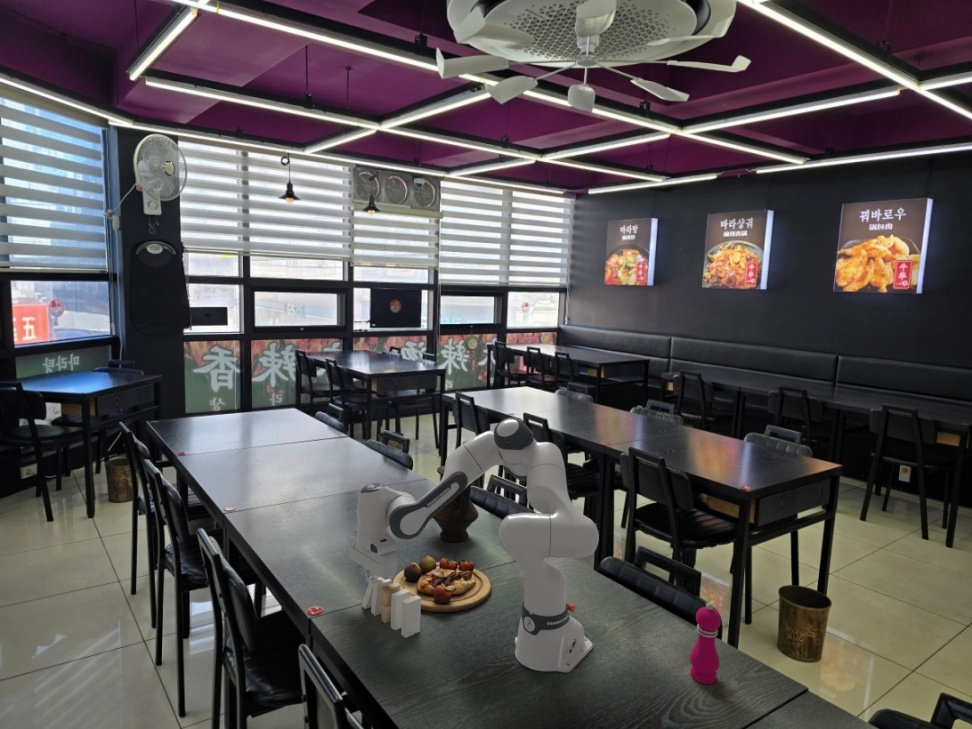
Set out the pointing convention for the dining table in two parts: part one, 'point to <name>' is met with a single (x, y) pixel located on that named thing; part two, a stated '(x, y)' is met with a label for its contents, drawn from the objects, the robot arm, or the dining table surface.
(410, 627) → the domino
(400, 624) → the domino
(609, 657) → the dining table surface
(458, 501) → the jug
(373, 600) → the domino
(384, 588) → the domino
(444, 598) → the wooden plate with food
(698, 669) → the pepper mill
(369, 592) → the domino
